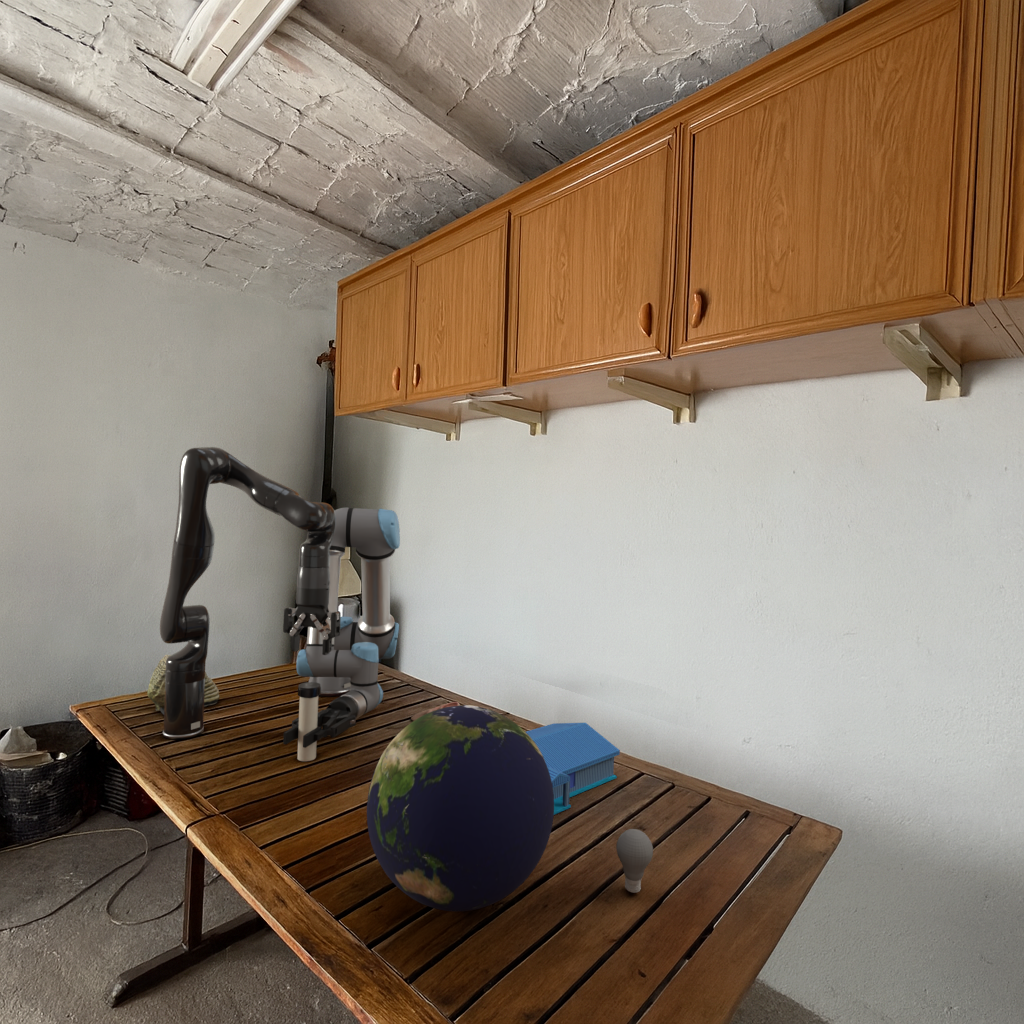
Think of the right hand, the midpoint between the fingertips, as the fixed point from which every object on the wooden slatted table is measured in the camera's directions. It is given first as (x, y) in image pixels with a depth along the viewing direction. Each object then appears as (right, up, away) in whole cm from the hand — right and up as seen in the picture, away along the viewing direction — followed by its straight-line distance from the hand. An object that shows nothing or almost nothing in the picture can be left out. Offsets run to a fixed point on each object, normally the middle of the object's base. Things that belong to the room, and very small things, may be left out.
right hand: (294, 740), depth 148 cm
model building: (+55, -9, -5) cm, 56 cm away
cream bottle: (+1, -6, +5) cm, 8 cm away
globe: (+42, -9, -45) cm, 62 cm away
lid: (+2, +11, +5) cm, 12 cm away
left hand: (+2, +19, +5) cm, 20 cm away
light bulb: (+71, -10, -42) cm, 83 cm away
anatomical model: (+29, -7, +36) cm, 46 cm away
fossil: (-45, -4, +37) cm, 59 cm away
